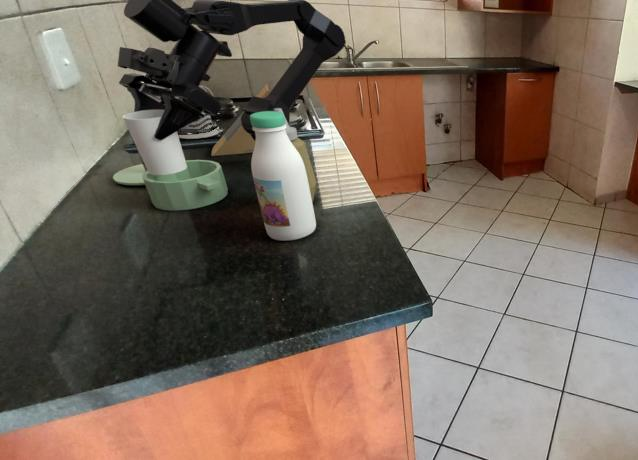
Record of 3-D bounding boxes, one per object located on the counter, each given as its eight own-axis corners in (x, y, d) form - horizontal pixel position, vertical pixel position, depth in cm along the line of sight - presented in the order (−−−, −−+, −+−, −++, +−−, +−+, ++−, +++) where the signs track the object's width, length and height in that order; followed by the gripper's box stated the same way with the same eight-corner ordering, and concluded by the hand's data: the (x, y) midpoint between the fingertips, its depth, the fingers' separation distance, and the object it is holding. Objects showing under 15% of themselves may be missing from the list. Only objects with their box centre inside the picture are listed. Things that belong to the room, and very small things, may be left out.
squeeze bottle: (302, 213, 79) (282, 116, 70) (264, 207, 80) (240, 111, 71) (328, 196, 86) (312, 106, 77) (292, 191, 87) (273, 102, 78)
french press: (167, 135, 115) (133, 34, 103) (207, 125, 125) (180, 32, 113) (195, 140, 112) (163, 37, 101) (233, 130, 122) (208, 35, 110)
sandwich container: (213, 146, 109) (195, 85, 102) (279, 140, 116) (267, 83, 109) (210, 156, 103) (191, 92, 95) (281, 150, 109) (268, 89, 102)
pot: (195, 178, 91) (187, 153, 88) (250, 196, 84) (243, 170, 82) (130, 198, 81) (119, 170, 78) (187, 219, 75) (176, 190, 72)
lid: (169, 161, 98) (161, 138, 95) (204, 173, 93) (197, 148, 91) (101, 179, 88) (89, 153, 85) (137, 193, 83) (126, 165, 80)
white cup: (197, 162, 81) (179, 109, 76) (178, 175, 75) (157, 119, 70) (158, 162, 80) (138, 109, 75) (136, 176, 74) (112, 119, 69)
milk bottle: (306, 216, 78) (284, 106, 68) (324, 232, 73) (303, 115, 64) (260, 229, 73) (229, 111, 63) (276, 247, 68) (246, 123, 59)
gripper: (109, 23, 72) (58, 101, 69) (179, 31, 66) (127, 118, 63) (174, 66, 83) (132, 136, 79) (240, 77, 76) (198, 153, 73)
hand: (146, 135), depth 73 cm, fingers closed on white cup, 6 cm apart
